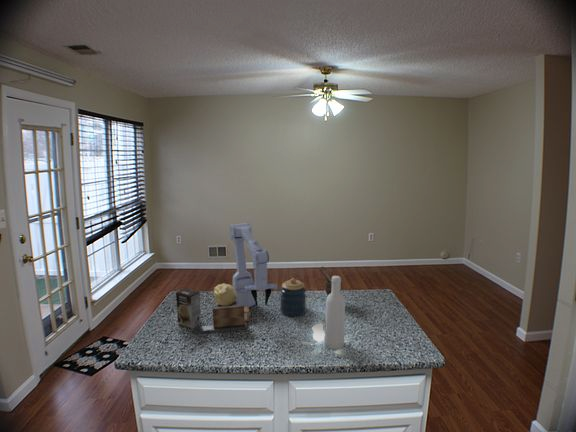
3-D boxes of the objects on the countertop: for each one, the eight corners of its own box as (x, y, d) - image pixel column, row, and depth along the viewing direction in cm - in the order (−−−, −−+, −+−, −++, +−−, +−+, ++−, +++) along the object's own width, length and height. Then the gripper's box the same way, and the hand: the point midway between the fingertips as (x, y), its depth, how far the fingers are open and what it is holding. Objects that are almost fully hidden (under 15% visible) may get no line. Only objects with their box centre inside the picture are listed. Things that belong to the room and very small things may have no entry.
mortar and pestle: (320, 307, 175) (320, 271, 171) (318, 300, 184) (319, 265, 180) (342, 307, 175) (343, 270, 171) (339, 300, 184) (340, 265, 180)
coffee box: (177, 324, 159) (175, 292, 156) (187, 318, 164) (185, 287, 161) (191, 328, 154) (189, 296, 151) (201, 322, 160) (199, 290, 157)
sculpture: (211, 301, 182) (210, 282, 180) (232, 297, 188) (232, 278, 186) (217, 310, 172) (216, 290, 170) (239, 305, 178) (239, 286, 176)
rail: (246, 324, 158) (246, 322, 158) (247, 328, 154) (246, 326, 154) (193, 329, 154) (193, 327, 154) (192, 334, 150) (192, 331, 150)
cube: (248, 315, 167) (248, 306, 166) (249, 321, 162) (249, 311, 161) (238, 316, 166) (238, 307, 165) (238, 322, 161) (238, 312, 160)
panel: (244, 323, 157) (243, 304, 155) (244, 324, 155) (244, 306, 153) (213, 325, 154) (212, 307, 152) (213, 327, 153) (212, 309, 151)
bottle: (331, 337, 147) (333, 272, 142) (347, 343, 142) (349, 276, 137) (321, 345, 141) (322, 277, 135) (337, 352, 136) (339, 282, 131)
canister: (306, 305, 177) (306, 274, 174) (305, 317, 164) (305, 283, 161) (282, 304, 178) (281, 273, 175) (278, 316, 166) (278, 282, 162)
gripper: (245, 281, 148) (246, 309, 150) (277, 278, 150) (278, 307, 153) (244, 275, 155) (245, 302, 157) (275, 273, 157) (275, 300, 160)
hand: (261, 304), depth 155 cm, fingers open, 4 cm apart
